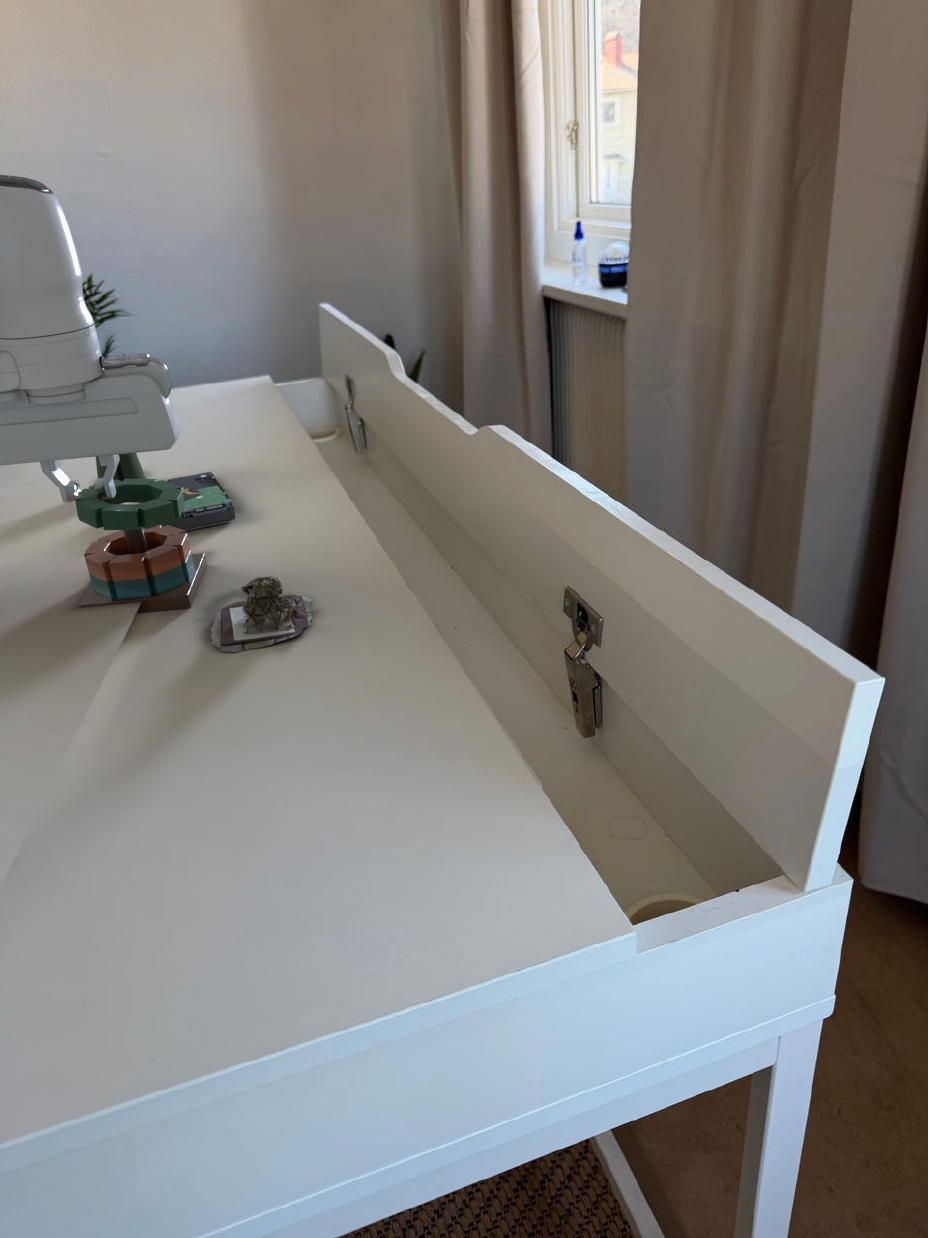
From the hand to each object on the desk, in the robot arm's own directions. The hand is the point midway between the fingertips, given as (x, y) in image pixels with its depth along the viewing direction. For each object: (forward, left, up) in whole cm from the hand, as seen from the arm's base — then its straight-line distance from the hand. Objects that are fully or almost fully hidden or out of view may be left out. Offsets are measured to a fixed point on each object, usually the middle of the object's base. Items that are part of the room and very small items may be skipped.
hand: (90, 498), depth 96 cm
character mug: (-8, +37, -11) cm, 39 cm away
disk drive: (+3, +24, -11) cm, 27 cm away
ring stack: (+3, 0, -11) cm, 11 cm away
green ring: (+4, 0, -2) cm, 4 cm away
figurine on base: (+17, -10, -11) cm, 22 cm away
